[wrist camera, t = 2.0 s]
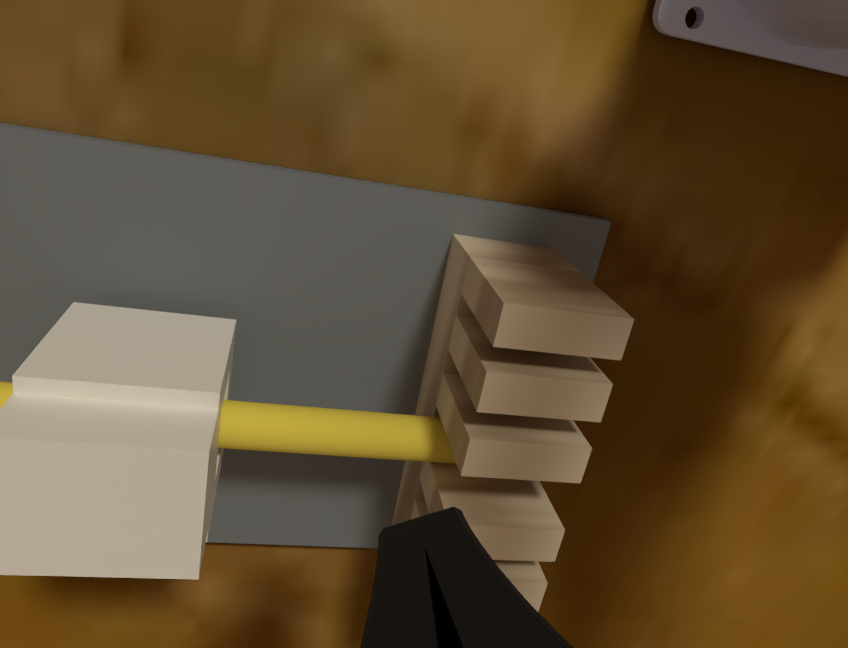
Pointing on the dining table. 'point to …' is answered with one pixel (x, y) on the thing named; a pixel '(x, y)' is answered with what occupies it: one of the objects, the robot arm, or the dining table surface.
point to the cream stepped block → (114, 445)
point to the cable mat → (256, 294)
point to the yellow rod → (325, 431)
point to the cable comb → (512, 397)
